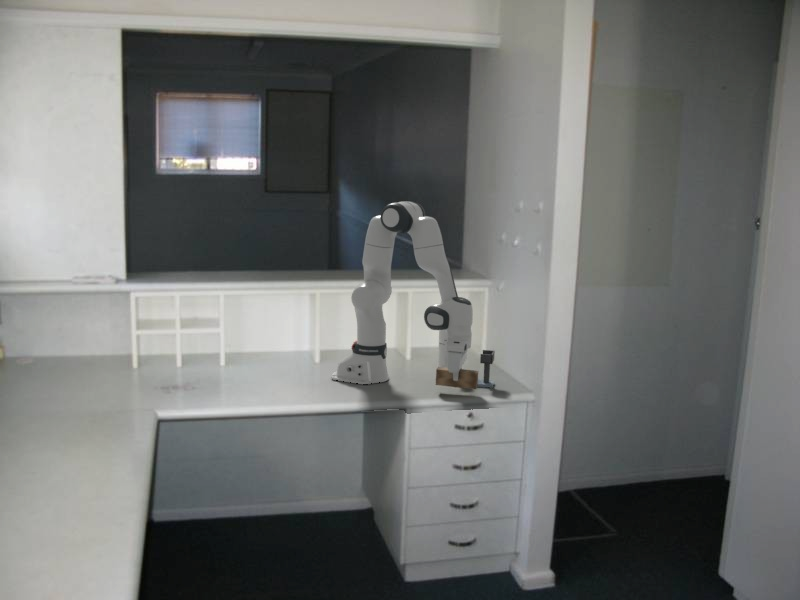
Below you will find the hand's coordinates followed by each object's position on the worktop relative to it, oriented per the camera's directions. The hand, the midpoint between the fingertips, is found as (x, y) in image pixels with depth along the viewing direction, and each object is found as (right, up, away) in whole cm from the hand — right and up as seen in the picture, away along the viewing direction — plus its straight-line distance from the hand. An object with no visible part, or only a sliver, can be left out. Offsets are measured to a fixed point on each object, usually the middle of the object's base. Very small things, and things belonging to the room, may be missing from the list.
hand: (456, 378), depth 294 cm
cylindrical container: (-2, 0, +36) cm, 36 cm away
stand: (+6, -4, +14) cm, 16 cm away
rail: (0, -3, +1) cm, 3 cm away
